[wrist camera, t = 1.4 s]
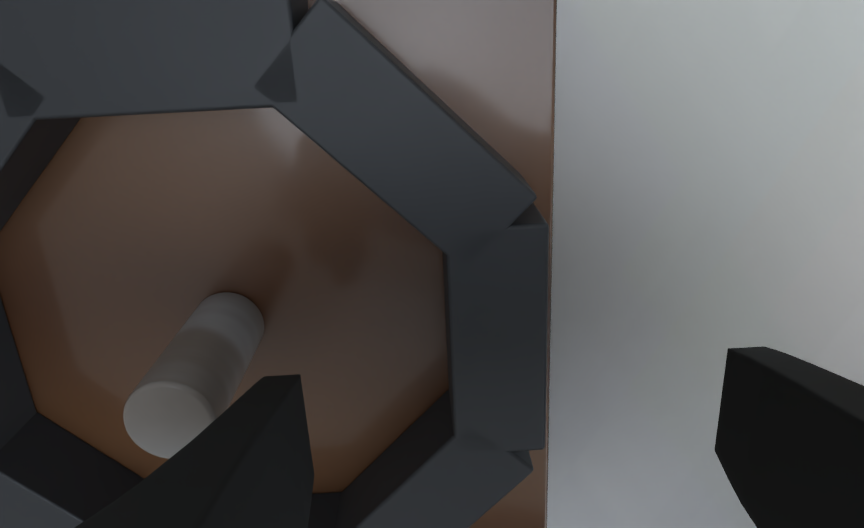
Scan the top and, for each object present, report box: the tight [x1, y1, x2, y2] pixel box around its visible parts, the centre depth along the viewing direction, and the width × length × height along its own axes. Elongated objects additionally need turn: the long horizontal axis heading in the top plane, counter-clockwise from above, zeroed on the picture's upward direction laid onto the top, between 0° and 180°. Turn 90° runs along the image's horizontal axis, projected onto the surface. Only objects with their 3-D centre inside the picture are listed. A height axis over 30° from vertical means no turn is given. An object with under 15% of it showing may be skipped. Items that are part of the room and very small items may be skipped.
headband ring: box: [0, 0, 549, 528], centre depth 14 cm, size 14×14×2 cm
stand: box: [0, 0, 557, 528], centre depth 14 cm, size 15×15×6 cm
